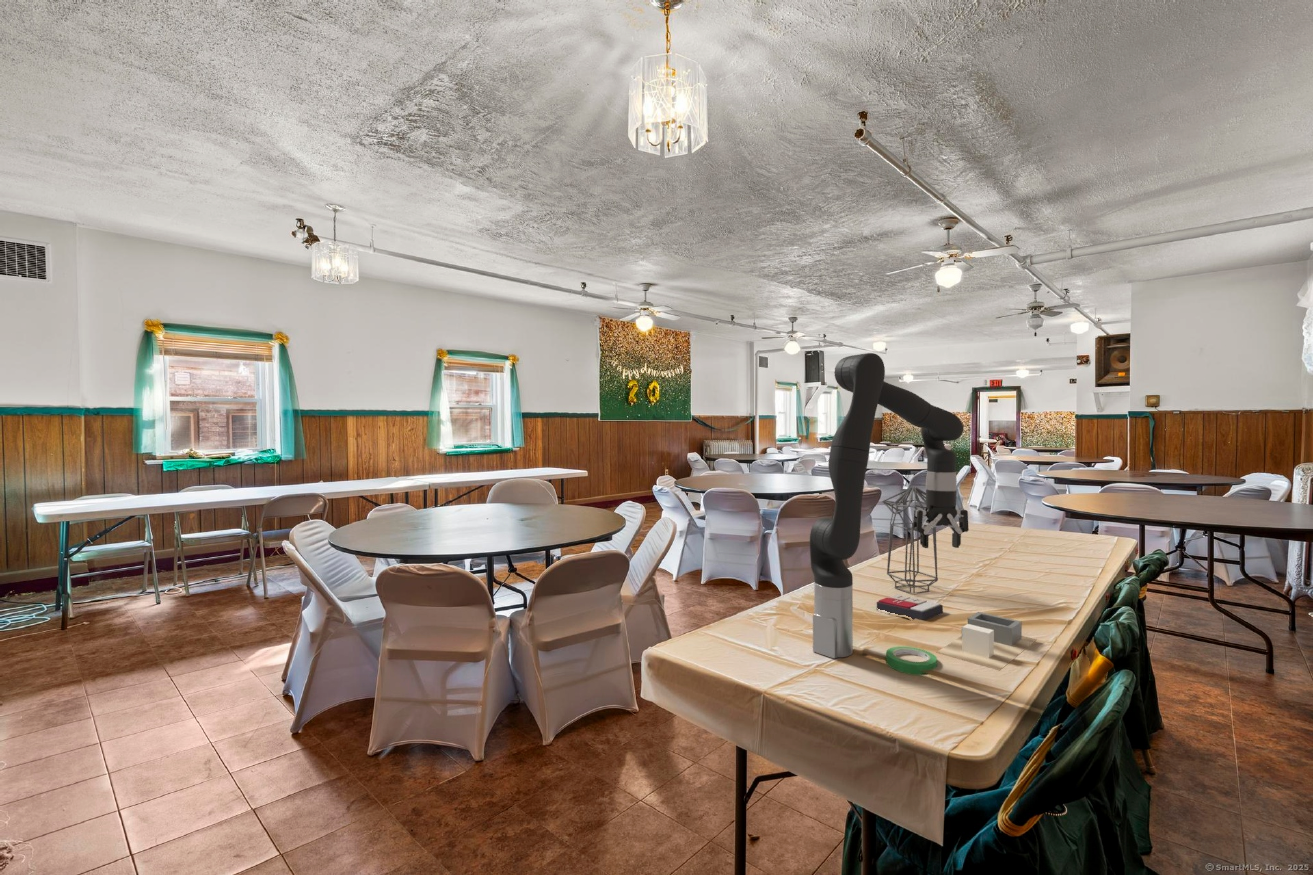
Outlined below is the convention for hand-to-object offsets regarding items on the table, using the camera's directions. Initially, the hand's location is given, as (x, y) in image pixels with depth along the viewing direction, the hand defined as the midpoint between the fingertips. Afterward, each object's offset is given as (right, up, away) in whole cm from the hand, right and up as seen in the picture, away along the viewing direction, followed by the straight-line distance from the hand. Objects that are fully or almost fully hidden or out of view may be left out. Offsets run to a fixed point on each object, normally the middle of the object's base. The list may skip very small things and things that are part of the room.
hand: (940, 547), depth 158 cm
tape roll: (-17, -24, -21) cm, 36 cm away
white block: (+1, -23, -17) cm, 28 cm away
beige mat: (+6, -23, -12) cm, 27 cm away
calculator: (-2, -23, +15) cm, 28 cm away
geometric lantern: (+10, -22, +39) cm, 46 cm away
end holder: (+11, -22, -7) cm, 25 cm away
